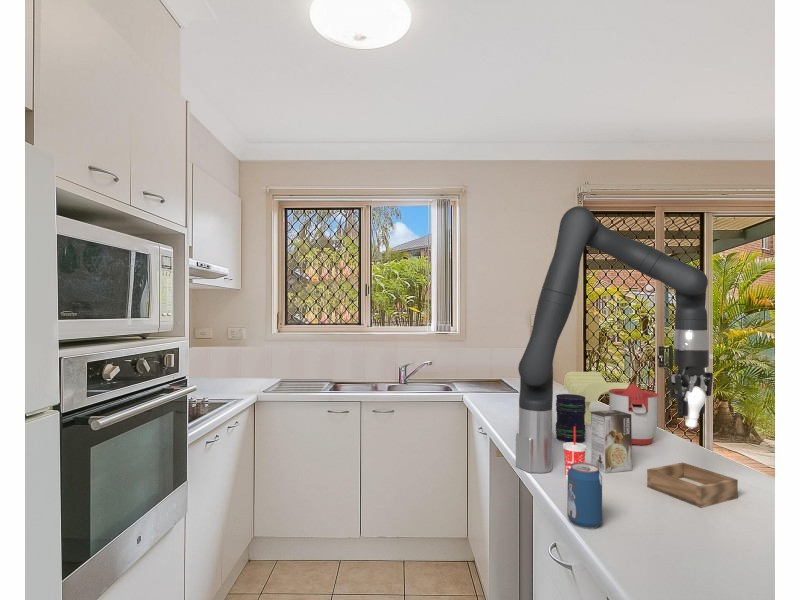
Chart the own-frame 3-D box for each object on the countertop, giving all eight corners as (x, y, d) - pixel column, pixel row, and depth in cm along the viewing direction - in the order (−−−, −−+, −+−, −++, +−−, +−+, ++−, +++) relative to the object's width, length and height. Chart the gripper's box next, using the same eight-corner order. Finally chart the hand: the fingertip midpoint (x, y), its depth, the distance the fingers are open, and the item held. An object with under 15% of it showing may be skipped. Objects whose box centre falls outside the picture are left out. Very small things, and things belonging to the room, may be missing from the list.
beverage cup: (588, 477, 130) (588, 425, 131) (584, 484, 125) (584, 430, 125) (565, 473, 134) (565, 422, 134) (560, 480, 128) (560, 427, 128)
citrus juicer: (614, 447, 159) (614, 386, 160) (604, 433, 176) (605, 379, 176) (665, 450, 156) (666, 389, 156) (651, 436, 172) (651, 381, 173)
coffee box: (616, 463, 142) (616, 409, 142) (632, 471, 136) (632, 414, 136) (590, 466, 140) (590, 411, 140) (605, 473, 134) (605, 415, 134)
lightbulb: (679, 424, 125) (679, 382, 125) (707, 428, 121) (707, 384, 121) (675, 428, 120) (675, 384, 120) (703, 433, 116) (703, 387, 117)
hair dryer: (563, 411, 213) (563, 371, 214) (600, 412, 212) (600, 372, 213) (585, 428, 183) (585, 381, 184) (628, 429, 182) (628, 382, 183)
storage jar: (581, 436, 173) (581, 394, 173) (589, 443, 163) (589, 399, 163) (552, 435, 174) (553, 393, 174) (559, 442, 164) (559, 398, 164)
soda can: (606, 522, 103) (606, 466, 103) (595, 533, 98) (595, 474, 98) (574, 513, 108) (575, 459, 108) (562, 523, 102) (562, 466, 103)
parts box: (700, 507, 111) (700, 488, 111) (647, 486, 124) (647, 469, 124) (737, 498, 117) (737, 479, 117) (682, 479, 130) (682, 462, 130)
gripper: (695, 345, 127) (695, 409, 127) (658, 347, 121) (658, 414, 121) (724, 348, 121) (724, 415, 120) (686, 349, 115) (686, 420, 114)
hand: (691, 414), depth 121 cm, fingers closed on lightbulb, 6 cm apart
